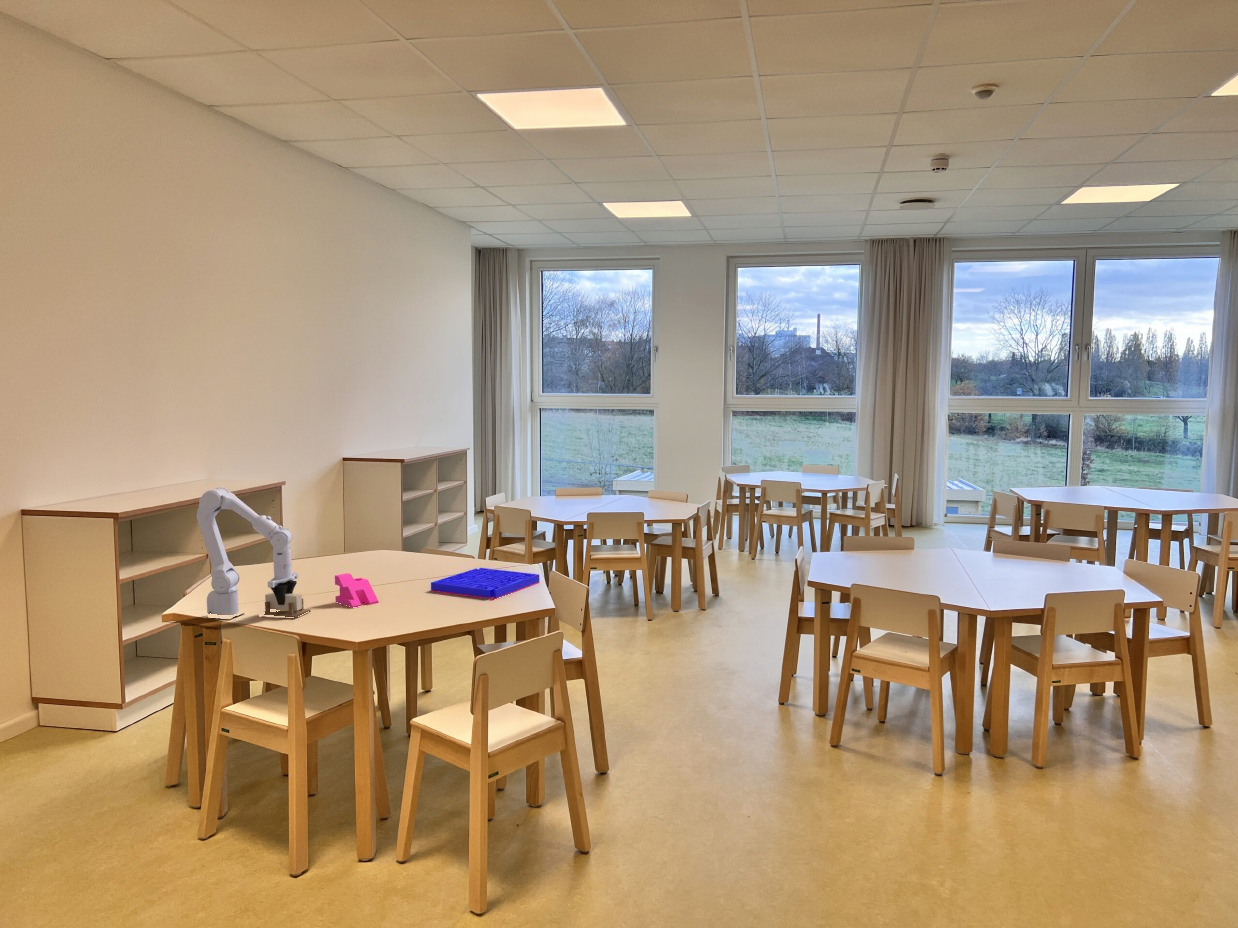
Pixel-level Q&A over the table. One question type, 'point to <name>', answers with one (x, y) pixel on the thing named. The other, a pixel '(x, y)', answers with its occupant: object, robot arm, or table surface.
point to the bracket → (354, 591)
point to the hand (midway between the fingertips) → (284, 603)
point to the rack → (285, 611)
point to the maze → (485, 583)
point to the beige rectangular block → (289, 598)
